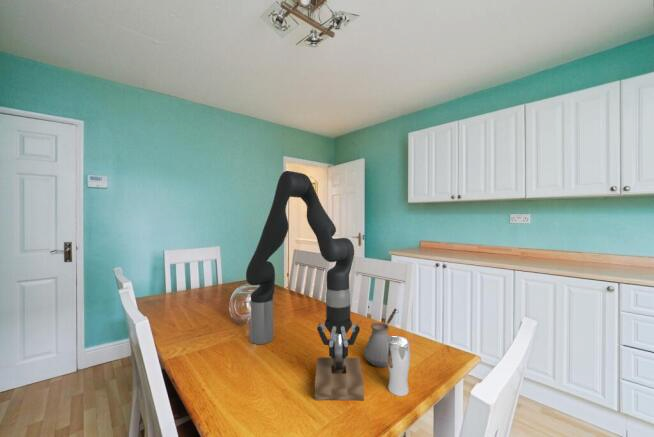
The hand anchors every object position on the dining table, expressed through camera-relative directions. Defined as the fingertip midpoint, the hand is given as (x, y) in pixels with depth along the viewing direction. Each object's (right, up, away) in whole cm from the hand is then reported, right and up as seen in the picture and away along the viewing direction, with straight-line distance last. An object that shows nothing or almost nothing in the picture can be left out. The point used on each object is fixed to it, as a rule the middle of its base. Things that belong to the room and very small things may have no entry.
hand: (338, 357), depth 86 cm
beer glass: (+18, -9, -2) cm, 20 cm away
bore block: (0, -9, 0) cm, 9 cm away
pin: (0, -3, 0) cm, 3 cm away
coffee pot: (+18, -9, +18) cm, 27 cm away
